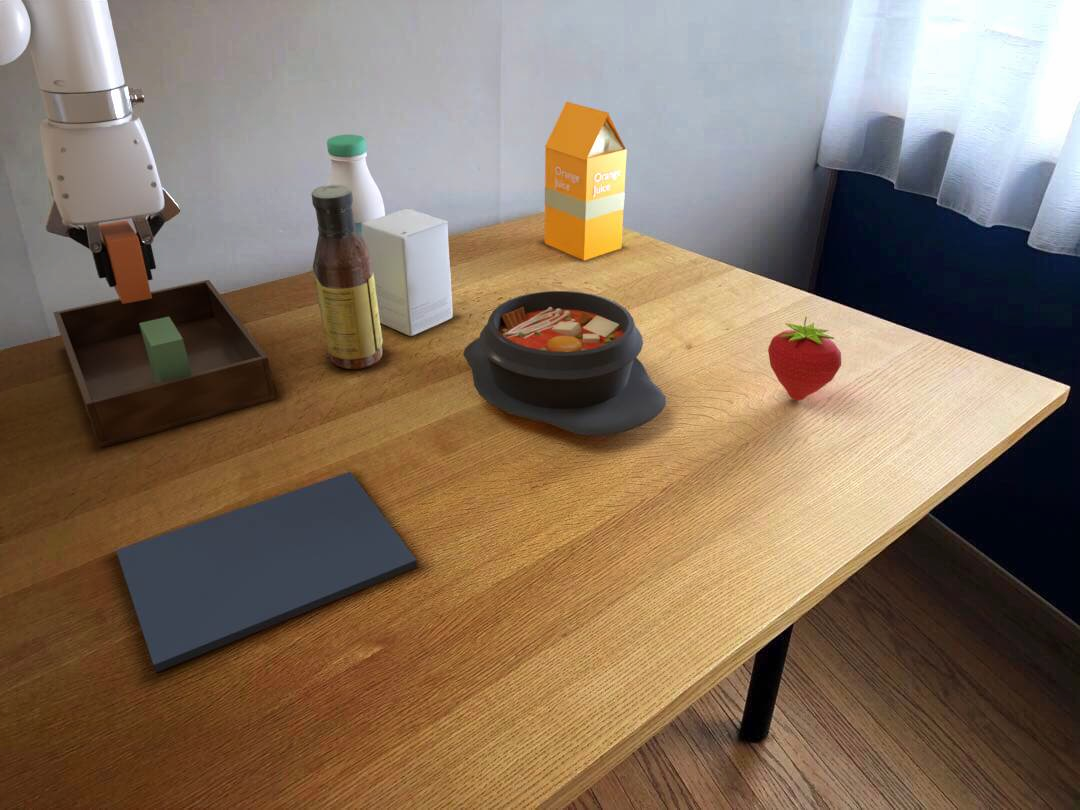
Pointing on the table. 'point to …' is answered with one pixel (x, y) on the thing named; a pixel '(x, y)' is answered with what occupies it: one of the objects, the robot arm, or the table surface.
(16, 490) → the table surface
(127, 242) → the block
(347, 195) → the sauce bottle
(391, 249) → the white packaging box
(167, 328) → the block
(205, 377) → the tray
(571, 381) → the casserole
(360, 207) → the milk bottle
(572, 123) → the orange juice
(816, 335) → the strawberry
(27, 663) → the table surface
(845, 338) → the table surface
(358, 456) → the table surface
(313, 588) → the mat
